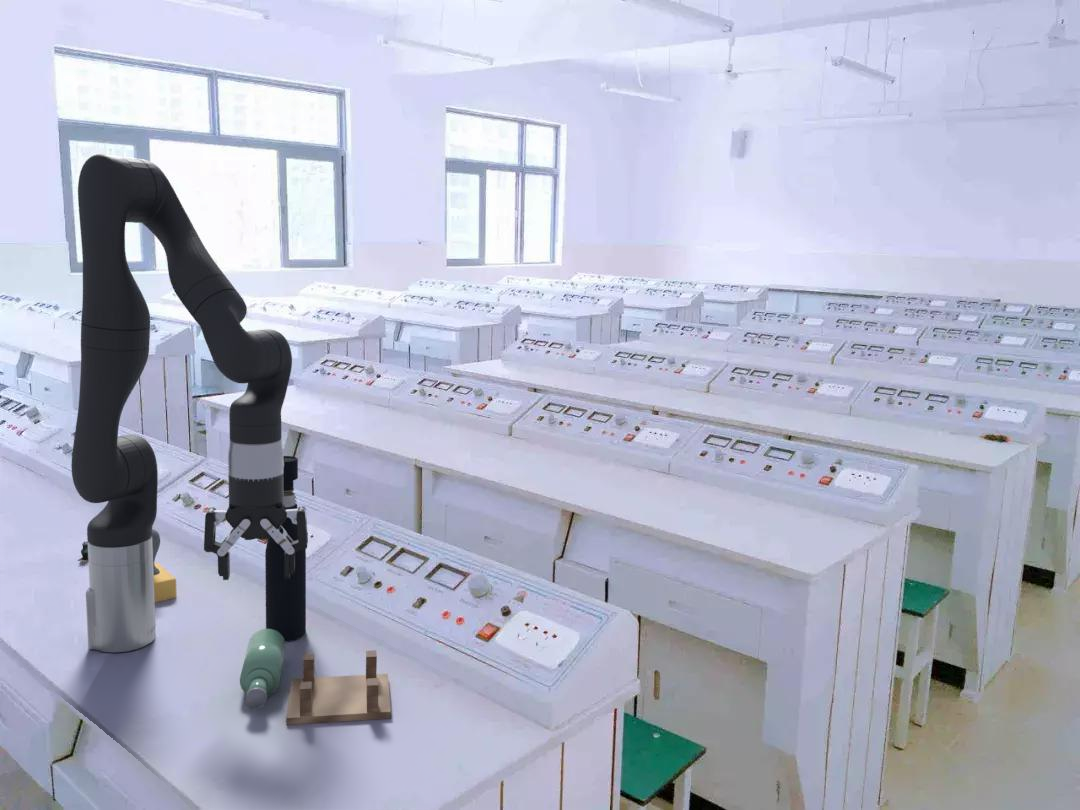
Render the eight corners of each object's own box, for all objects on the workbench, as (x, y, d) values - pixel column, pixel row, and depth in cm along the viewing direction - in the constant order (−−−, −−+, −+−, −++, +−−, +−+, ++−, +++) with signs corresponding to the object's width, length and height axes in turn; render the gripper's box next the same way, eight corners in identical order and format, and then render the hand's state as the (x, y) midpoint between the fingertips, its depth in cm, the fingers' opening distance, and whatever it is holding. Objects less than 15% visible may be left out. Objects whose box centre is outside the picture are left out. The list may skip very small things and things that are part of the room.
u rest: (286, 724, 122) (286, 690, 121) (291, 684, 132) (291, 653, 131) (390, 718, 125) (391, 685, 124) (387, 679, 135) (388, 649, 134)
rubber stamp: (177, 597, 161) (175, 533, 159) (143, 605, 157) (141, 539, 155) (158, 580, 168) (156, 519, 166) (125, 586, 164) (123, 524, 162)
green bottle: (243, 657, 138) (254, 625, 138) (279, 665, 140) (289, 633, 139) (229, 712, 122) (241, 676, 122) (270, 721, 124) (281, 685, 123)
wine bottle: (294, 644, 145) (294, 465, 139) (258, 639, 146) (256, 461, 141) (312, 628, 151) (312, 456, 146) (277, 623, 152) (276, 452, 147)
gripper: (199, 477, 123) (201, 589, 126) (306, 476, 126) (306, 585, 129) (207, 463, 130) (209, 569, 133) (308, 463, 133) (308, 566, 136)
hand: (257, 577), depth 131 cm, fingers open, 8 cm apart
